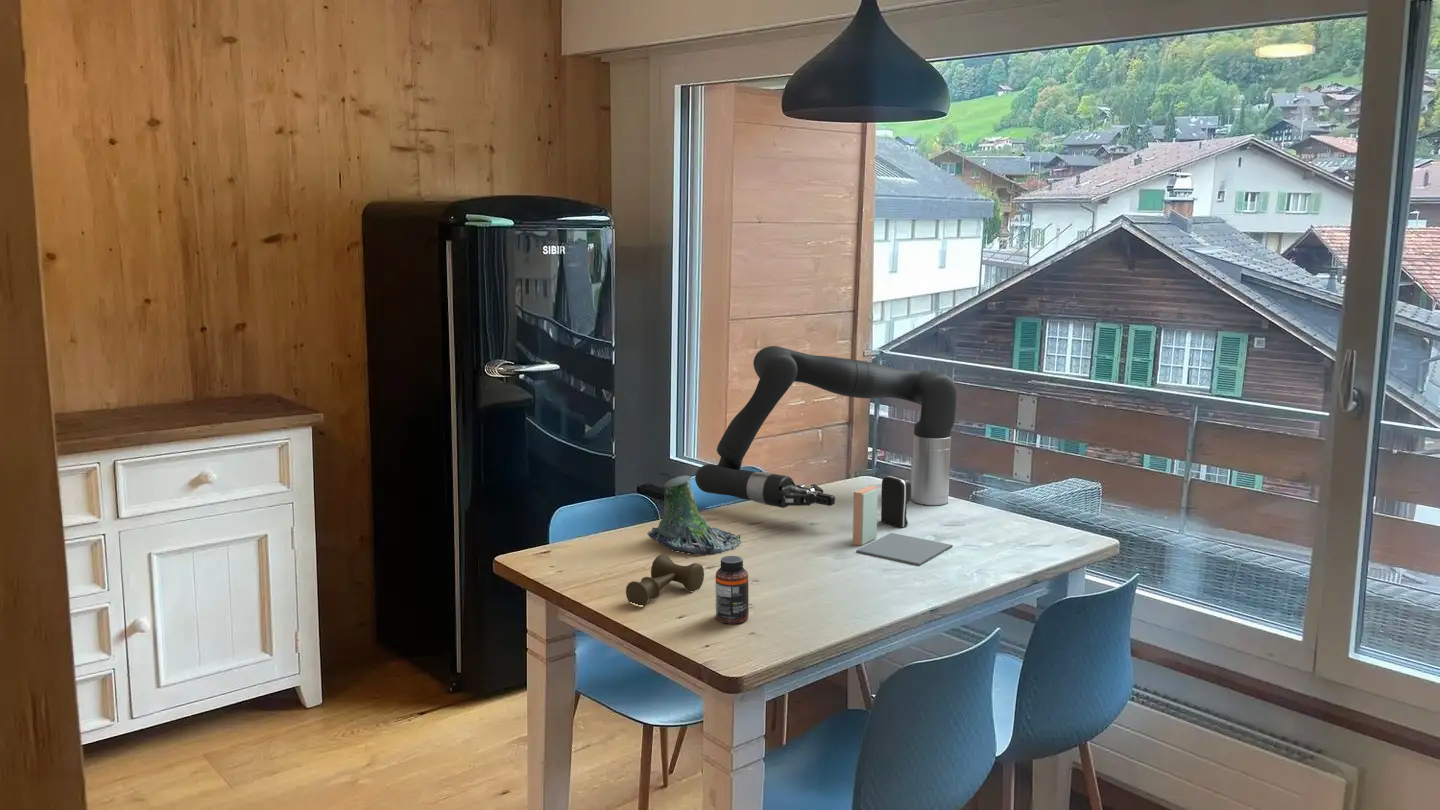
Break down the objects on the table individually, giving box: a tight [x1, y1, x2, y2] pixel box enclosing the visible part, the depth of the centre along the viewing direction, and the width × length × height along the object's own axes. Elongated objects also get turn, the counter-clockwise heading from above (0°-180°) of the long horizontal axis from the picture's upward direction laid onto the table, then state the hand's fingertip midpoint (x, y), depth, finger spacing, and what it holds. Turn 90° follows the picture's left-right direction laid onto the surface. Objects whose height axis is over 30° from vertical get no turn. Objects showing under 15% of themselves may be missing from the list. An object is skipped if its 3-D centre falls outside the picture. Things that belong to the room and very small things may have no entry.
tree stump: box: [647, 475, 742, 556], centre depth 232 cm, size 18×20×18 cm
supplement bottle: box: [714, 555, 750, 625], centre depth 189 cm, size 6×6×11 cm
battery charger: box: [880, 475, 912, 528], centre depth 249 cm, size 7×4×11 cm, turn 38°
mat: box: [856, 532, 953, 567], centre depth 230 cm, size 15×16×1 cm
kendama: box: [625, 553, 705, 607], centre depth 204 cm, size 6×10×20 cm
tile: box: [852, 485, 879, 547], centre depth 235 cm, size 2×7×12 cm, turn 143°
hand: (833, 500), depth 240 cm, fingers closed
